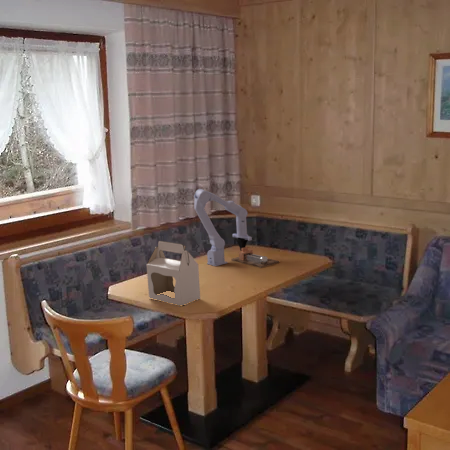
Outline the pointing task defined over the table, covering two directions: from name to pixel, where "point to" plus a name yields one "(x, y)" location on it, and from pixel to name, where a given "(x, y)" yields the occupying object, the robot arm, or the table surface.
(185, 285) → the gable box
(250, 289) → the table surface
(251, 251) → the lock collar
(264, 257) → the base
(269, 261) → the walnut board
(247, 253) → the tongs arm
